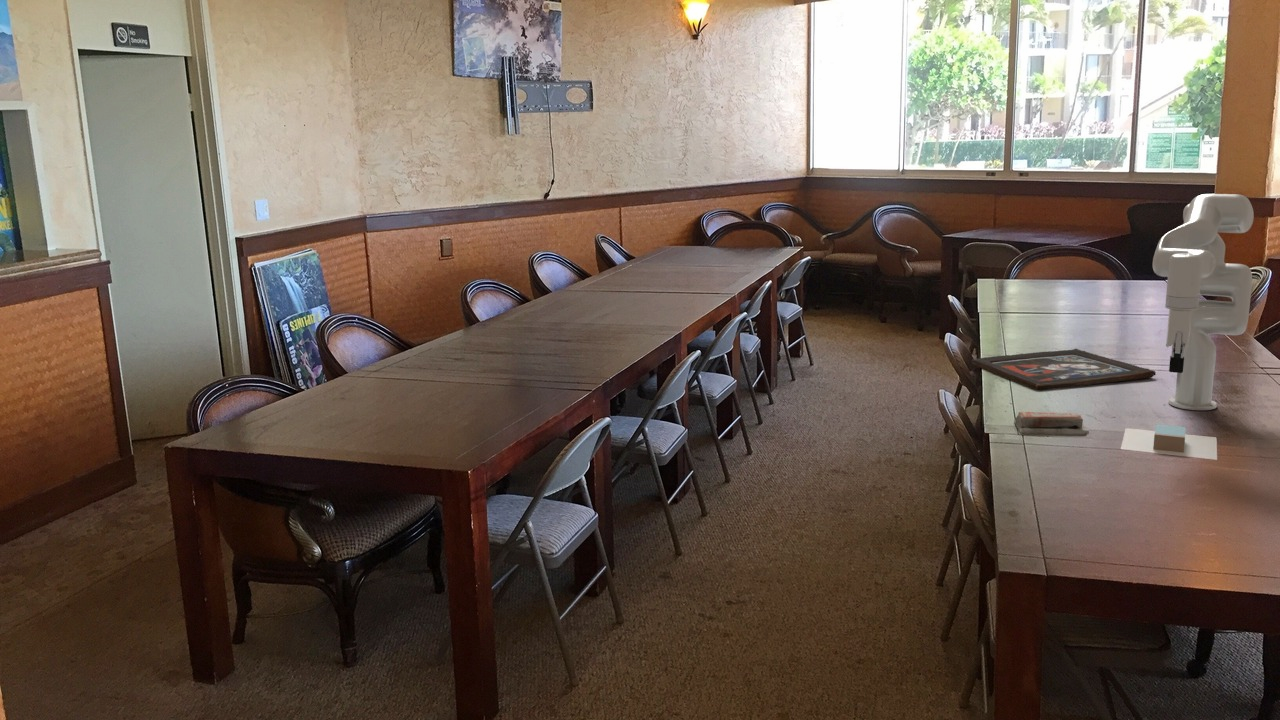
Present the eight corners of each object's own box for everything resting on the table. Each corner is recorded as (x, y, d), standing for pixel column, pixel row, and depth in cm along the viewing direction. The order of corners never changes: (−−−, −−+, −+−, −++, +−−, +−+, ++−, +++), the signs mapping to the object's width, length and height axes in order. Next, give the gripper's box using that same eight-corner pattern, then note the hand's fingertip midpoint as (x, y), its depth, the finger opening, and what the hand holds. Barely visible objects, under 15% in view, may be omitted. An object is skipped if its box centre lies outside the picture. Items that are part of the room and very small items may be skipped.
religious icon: (1159, 379, 335) (1160, 369, 335) (1038, 393, 325) (1038, 384, 324) (1079, 354, 374) (1079, 346, 373) (968, 366, 363) (969, 358, 362)
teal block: (1156, 424, 274) (1154, 434, 265) (1185, 427, 270) (1185, 437, 262) (1154, 438, 275) (1153, 449, 266) (1184, 441, 271) (1183, 452, 263)
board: (1125, 429, 284) (1125, 428, 284) (1216, 438, 274) (1216, 437, 274) (1120, 450, 267) (1120, 449, 267) (1217, 461, 257) (1217, 459, 257)
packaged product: (1021, 418, 283) (1014, 408, 292) (1020, 435, 284) (1013, 424, 293) (1090, 419, 280) (1081, 409, 289) (1089, 436, 281) (1080, 425, 290)
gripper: (1166, 296, 270) (1160, 363, 274) (1164, 307, 257) (1158, 377, 262) (1199, 297, 266) (1192, 366, 271) (1198, 308, 254) (1191, 380, 258)
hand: (1175, 371), depth 266 cm, fingers closed
